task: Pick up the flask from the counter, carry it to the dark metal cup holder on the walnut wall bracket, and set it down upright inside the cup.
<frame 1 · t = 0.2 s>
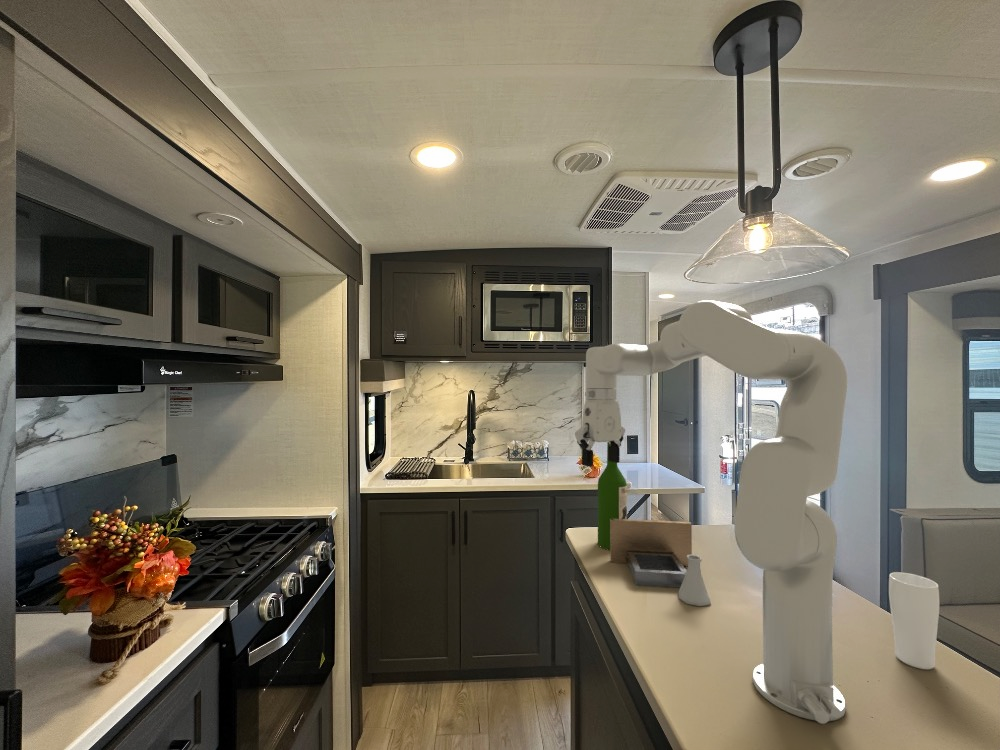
hand: (600, 463, 111), 31 cm above the countertop, tool pointing down, fingers open, 9 cm apart
flask: (694, 600, 104), on the countertop
cup bracket: (656, 575, 116), on the countertop
wine bottle: (612, 546, 138), on the countertop
drinking glass: (914, 662, 81), on the countertop
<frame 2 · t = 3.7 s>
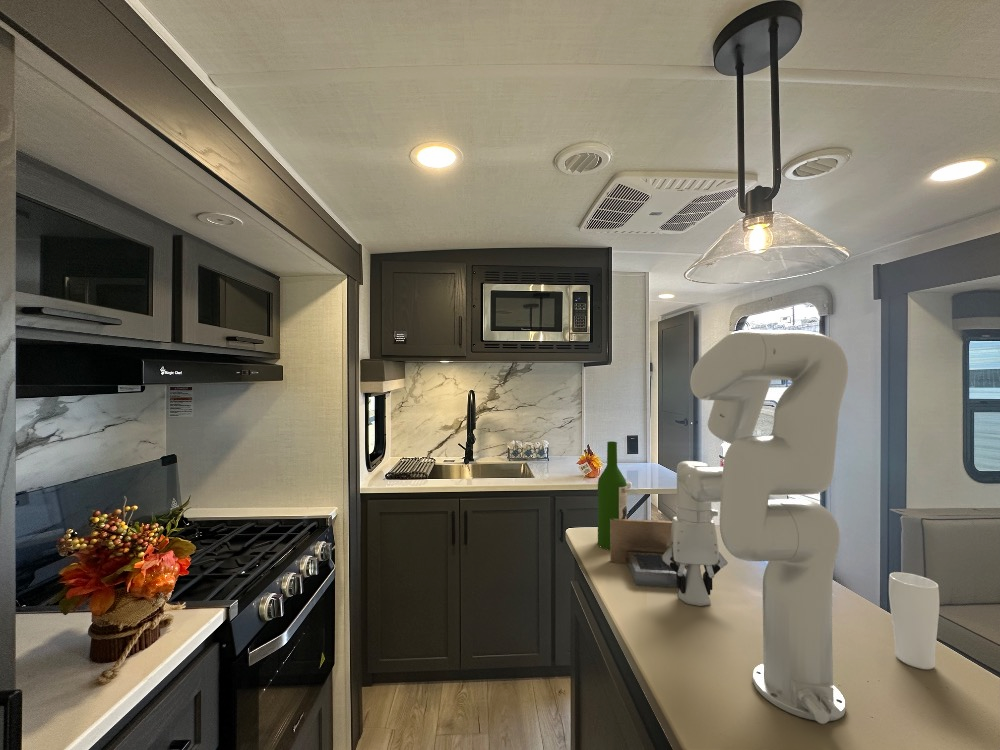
hand: (694, 590, 104), 2 cm above the countertop, tool pointing down, fingers closed on flask, 4 cm apart
flask: (694, 600, 104), on the countertop, touching gripper
everything else where it was.
when the fingers open (4 cm above the countertop, at t = 9.7 s): flask drops 1 cm, resting on cup bracket.
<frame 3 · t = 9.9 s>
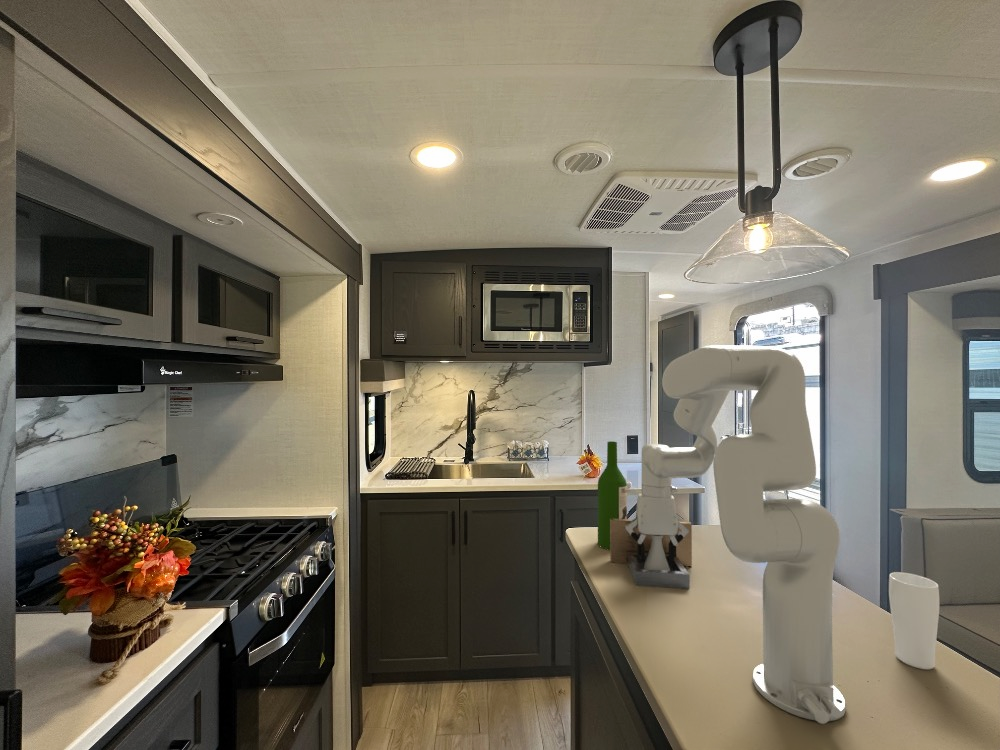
hand: (656, 557, 117), 5 cm above the countertop, tool pointing down, fingers open, 7 cm apart
flask: (656, 573, 116), point 1 cm above the countertop, touching cup bracket
everything else where it was.
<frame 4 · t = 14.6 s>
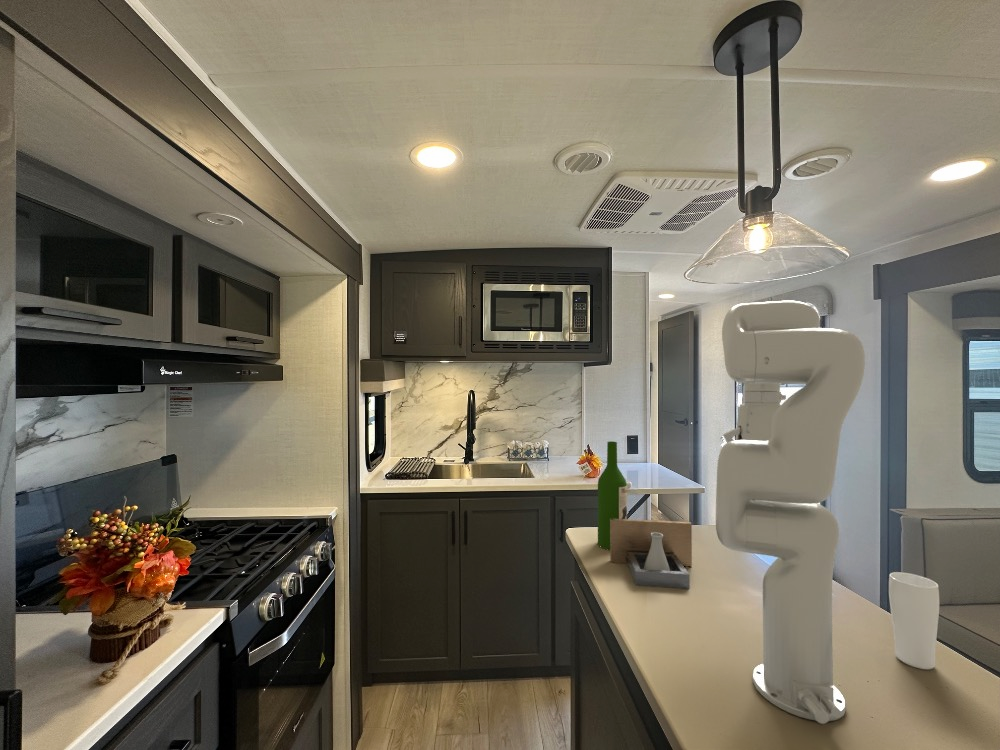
hand: (762, 469, 106), 30 cm above the countertop, tool pointing down, fingers open, 9 cm apart
nothing on the countertop moved.
at the end: flask 0.2 cm off-centre on the cup bracket, point 0.8 cm above the cup bracket's base; flask tilted 0°; the gripper is holding nothing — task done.
